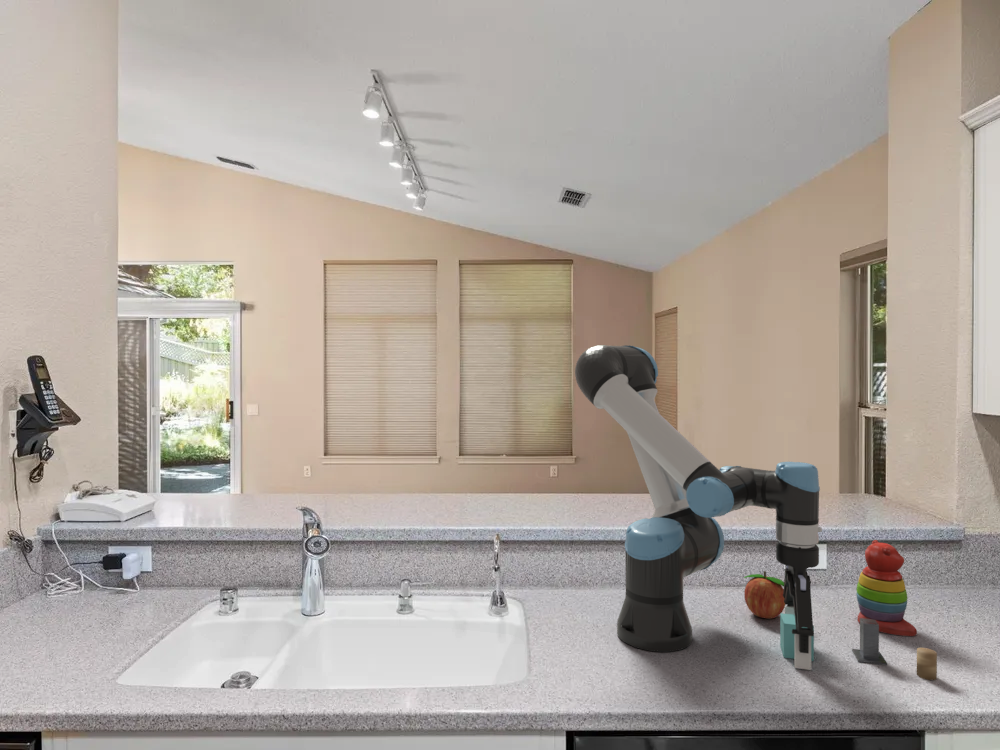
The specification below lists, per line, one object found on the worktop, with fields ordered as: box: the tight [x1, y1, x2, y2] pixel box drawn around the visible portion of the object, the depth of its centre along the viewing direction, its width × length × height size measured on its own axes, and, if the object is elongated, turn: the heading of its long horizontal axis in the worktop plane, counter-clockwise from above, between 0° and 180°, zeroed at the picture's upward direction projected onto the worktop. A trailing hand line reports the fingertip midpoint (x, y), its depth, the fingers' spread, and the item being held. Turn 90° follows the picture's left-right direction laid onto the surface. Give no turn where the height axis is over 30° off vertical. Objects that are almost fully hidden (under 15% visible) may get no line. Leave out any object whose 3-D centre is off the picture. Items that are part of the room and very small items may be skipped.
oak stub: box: [916, 647, 938, 681], centre depth 113 cm, size 3×3×4 cm
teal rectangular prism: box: [779, 612, 815, 662], centre depth 122 cm, size 5×5×7 cm
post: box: [851, 618, 888, 666], centre depth 120 cm, size 5×5×7 cm
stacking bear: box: [856, 539, 918, 637], centre depth 135 cm, size 11×10×18 cm
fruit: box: [743, 570, 787, 619], centre depth 140 cm, size 9×10×10 cm
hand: (797, 652), depth 122 cm, fingers open, 12 cm apart
